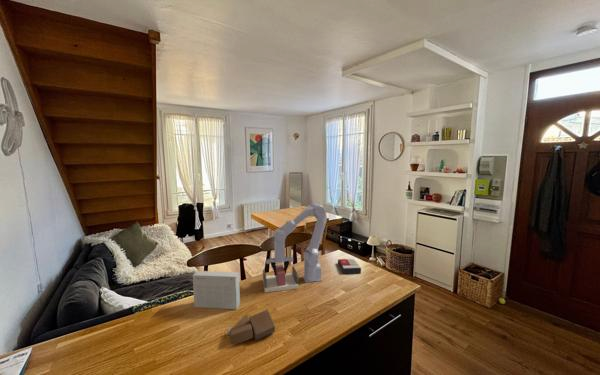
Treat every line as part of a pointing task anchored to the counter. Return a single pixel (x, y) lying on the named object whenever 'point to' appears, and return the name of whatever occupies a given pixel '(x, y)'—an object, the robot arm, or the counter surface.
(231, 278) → the skincare box
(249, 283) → the counter surface
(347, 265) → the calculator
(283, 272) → the burgundy book
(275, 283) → the grey open rack
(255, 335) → the wooden block
